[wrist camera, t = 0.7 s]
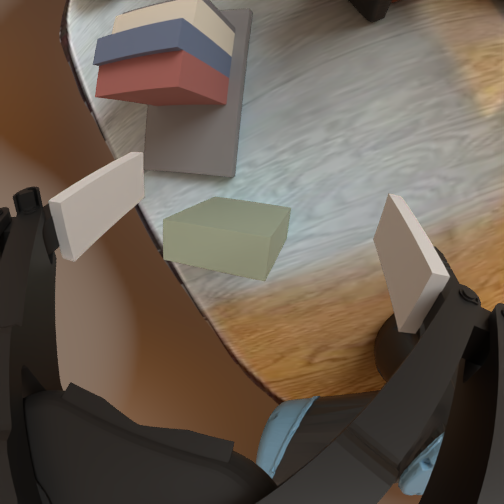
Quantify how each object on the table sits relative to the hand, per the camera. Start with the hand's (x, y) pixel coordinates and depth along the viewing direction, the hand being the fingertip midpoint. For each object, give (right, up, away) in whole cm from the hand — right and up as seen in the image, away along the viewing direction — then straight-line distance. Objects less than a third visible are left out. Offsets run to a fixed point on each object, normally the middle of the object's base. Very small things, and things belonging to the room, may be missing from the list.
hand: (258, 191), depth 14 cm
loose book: (-1, +1, +23) cm, 23 cm away
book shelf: (-8, +18, +19) cm, 27 cm away
